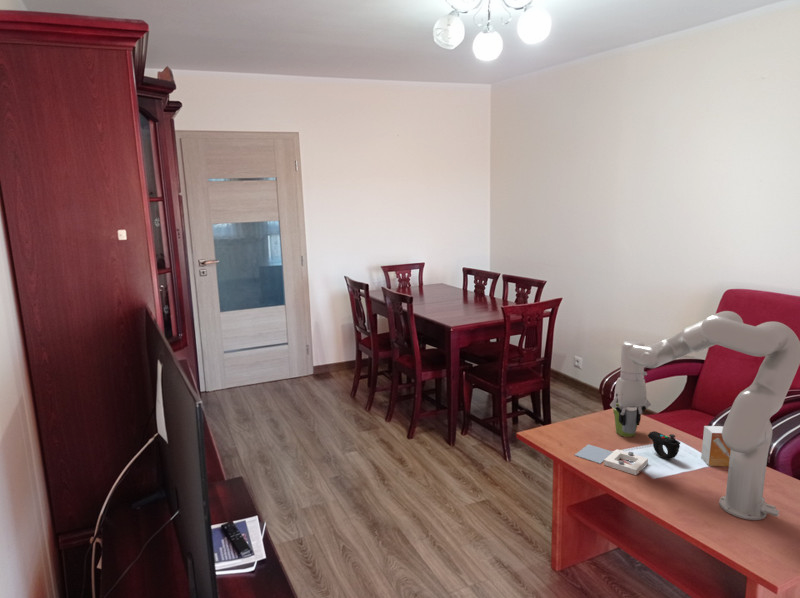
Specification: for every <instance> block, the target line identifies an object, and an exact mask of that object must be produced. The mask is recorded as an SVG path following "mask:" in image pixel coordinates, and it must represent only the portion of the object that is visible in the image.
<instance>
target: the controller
mask: <svg viewBox="0 0 800 598" xmlns="http://www.w3.org/2000/svg"><path fill="white" fill-rule="evenodd" d="M647 437H648V438H649V439H650V440H651V441H652V445H653V450H654V451H655V453H656V455H658V456H659V457H660V458H661V459H664V460H671V459H674V458H676V457H677V456H678V453H679V451H680V447H681V442H680V441H679V440H677V439H676V435H675V434H671V433H670V434H669V436H668V435H665V434H663V433H660V432H658V431H657V430H656V431H655V430H653V431H650V432H649V433H648V434H647ZM664 447H665V449H666V450H667V452H665V450H664Z"/></svg>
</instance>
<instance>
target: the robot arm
mask: <svg viewBox="0 0 800 598" xmlns="http://www.w3.org/2000/svg"><path fill="white" fill-rule="evenodd" d="M716 345H717V346H721V347H723V348H727V349H729V350H733V351H736V352H738V353H742V354H745V355H749V356H751V357H758V358H762V357H764V359H763V361H762V363H761V364H760V366H759V368H758V371H757V373H756V374H755V375H756V376H755V378H754V379H753V382H751V384H750V385H749V386H748V387H746V388H745V389H744V390H741V391H740V392H739V394H738V395H737V396H736V397H735V399H734V401H733V403H732V406H731V407H730V410H729V412H728V415H727V416H726V417H727V418H726V419H725V421H724V424H723V429H722V438H723V441H724V443H725V444H726V445H727V447H728V448H730V449H731V451H730V459H729V467H728V471H727V481H726V489H725V490H726V491H725V495H723V496H721V497H720V498H719V502H718V504H719V506H720V508H721V509H723V511H725V512H726V513H728V514H730V515H731V516H734V517H736V518H740V519H745V520H749V521H759V520H763V519H765V518H767V516H768V515H770V516H774V517H777V518H778V517H779V515H780V514H779V513H780V510H779V509H776V508H777V507H776V505H772V504H769V503H767V502H765V500H766V497H763V496H764V489H765V488H764V486H765V479H766V470H767V465H768V456H769V450H770V446H771V442H772V438H773V426H772V423H771V417H773V416H774V415H775V414H777V413H778V412H779V411H780V409H781V408H782V407H783V405H784V402H785V399H786V397H787V394H788V392H789V390H790V388H791V386H792V383H793V381H794V379H795V376H796V374H797V371H798V370H799V366H800V339H799V337H798V336H797V334H796V333H795V331H794V330H792V328H790V327H789V326H788V325H786V324H784V323H783V322H779V321H765V322H762V323H760V324H758V325H756V326H755V325H751V324H747V323H744V321H743V319H742V317H741V316H740V315H739V314H738V313H736V312H735V311H732V310H731V311H729V310H723V311H720V312H717V313H713V314H712V315H709V316H707V317H705V318H704V319H702V320H700V321H698V322H695V323H693V324H690V325H689V326H686V327H684V328H683V329H682V330H681V331H680V332H678V333H677V334H674V335H671V336H669V337H668V338H665V339H662V340H660V341H658V342H655V343H652V344H649V345H645V344H644V342H642V341H639V340H634V339H632V340H631V339H630V340H624V341H622V344H621V351H620V355H621V356H620V376H619V377H618V378H617V380H616V383H615V387H614V388H615V389H614V397H613V400H612V401H611V402H610V404H609V406H610V407H611V408H612V407H613V408H614V409H616V410H617V411H618V412H619V422H620V423H621V424H622V425H623V426H625V420H626V415H624V413H625V410H626V407H637V418H636V424H637V426H640V422H641V417H642V414H643V412H644V411H646V410H647V409H648V408H649V407H650V406H651V402H650V401H649V399H648V398H647V397H648V396H647V385H646V379H645V376H648V372H647V371H645V368H646V369H647V368H648V369H656V368H658V367H660V366H662V365H664V364H667V363H669V362H670V363H671V362H672V361H674V360H677V359H678V358H682V357H684V356H687V355H689V354H692V353H700V352H702V351H704V350H706V349H709V348H711V347H713V346H716ZM644 367H645V368H644ZM617 403H618V404H619V407H617V406H616V404H617ZM613 408H612V409H613ZM767 514H768V515H767Z"/></svg>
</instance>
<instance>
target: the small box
mask: <svg viewBox="0 0 800 598" xmlns="http://www.w3.org/2000/svg"><path fill="white" fill-rule="evenodd" d="M723 426H724V425H723ZM723 426H719V425H718V426H717V425H704V426H703V434H702V436H703V438H702V444H701V445H702V446H701V456H700V458H701V460H702V459H703V460H704V461H703V460H702V461H703V462H704V463H705V464H706V465H707V466H708V467H728V468H729V459H730V451H731V449H730V448H728V447H727V445H726V444H725V443H724V441H723V438H722V429H723Z"/></svg>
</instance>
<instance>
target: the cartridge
mask: <svg viewBox="0 0 800 598" xmlns="http://www.w3.org/2000/svg"><path fill="white" fill-rule="evenodd" d="M624 415H626V420H625V426H623V427H622V431H623V432H625V433H630V434H633V433H635V434H636V432H637V429H636V418H637V407H626V410H625V413H624Z"/></svg>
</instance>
